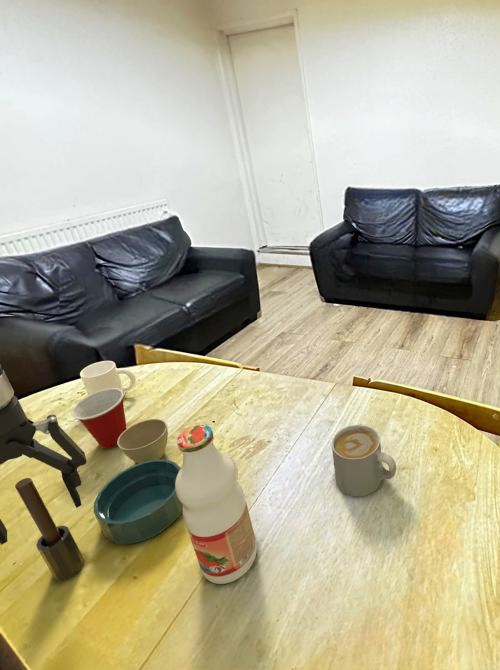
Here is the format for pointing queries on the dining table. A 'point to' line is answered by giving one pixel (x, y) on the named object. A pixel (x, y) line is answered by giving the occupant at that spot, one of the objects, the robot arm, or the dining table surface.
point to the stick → (38, 511)
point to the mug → (105, 377)
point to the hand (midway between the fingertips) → (42, 518)
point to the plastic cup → (102, 415)
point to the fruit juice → (214, 507)
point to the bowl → (139, 502)
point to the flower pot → (144, 440)
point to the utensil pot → (62, 555)
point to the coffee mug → (360, 460)
